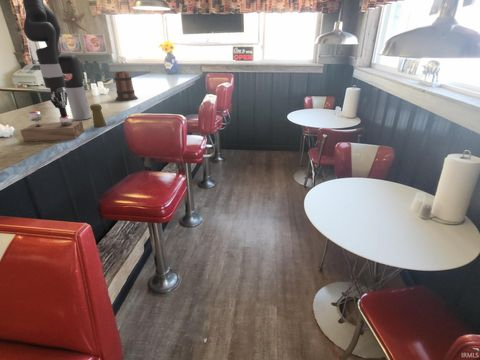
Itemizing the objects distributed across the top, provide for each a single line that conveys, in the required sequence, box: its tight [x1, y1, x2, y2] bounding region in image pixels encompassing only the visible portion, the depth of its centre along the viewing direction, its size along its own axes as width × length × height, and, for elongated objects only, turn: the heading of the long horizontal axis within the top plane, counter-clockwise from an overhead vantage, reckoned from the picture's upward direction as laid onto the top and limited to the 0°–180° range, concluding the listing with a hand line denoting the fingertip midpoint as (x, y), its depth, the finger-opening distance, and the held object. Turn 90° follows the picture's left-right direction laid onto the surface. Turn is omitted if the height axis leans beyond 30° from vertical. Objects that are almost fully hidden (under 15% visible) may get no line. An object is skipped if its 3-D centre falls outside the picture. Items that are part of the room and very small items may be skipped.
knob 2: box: [58, 115, 73, 126], centre depth 128 cm, size 4×4×7 cm
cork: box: [89, 103, 107, 128], centre depth 144 cm, size 6×6×11 cm
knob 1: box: [27, 110, 43, 127], centre depth 126 cm, size 4×4×7 cm
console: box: [20, 120, 85, 143], centre depth 129 cm, size 12×21×5 cm, turn 99°
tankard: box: [114, 71, 139, 102], centre depth 217 cm, size 24×17×20 cm
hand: (64, 116), depth 127 cm, fingers closed
